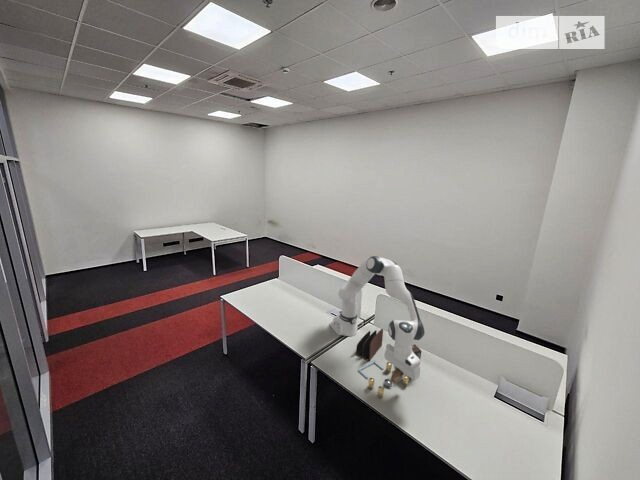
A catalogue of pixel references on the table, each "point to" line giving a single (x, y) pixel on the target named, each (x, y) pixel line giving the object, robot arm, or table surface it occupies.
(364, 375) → the bay
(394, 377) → the brown flat block
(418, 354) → the coffee box
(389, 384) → the silver dome knob
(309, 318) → the table surface
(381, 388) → the spacers
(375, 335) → the letter holder
